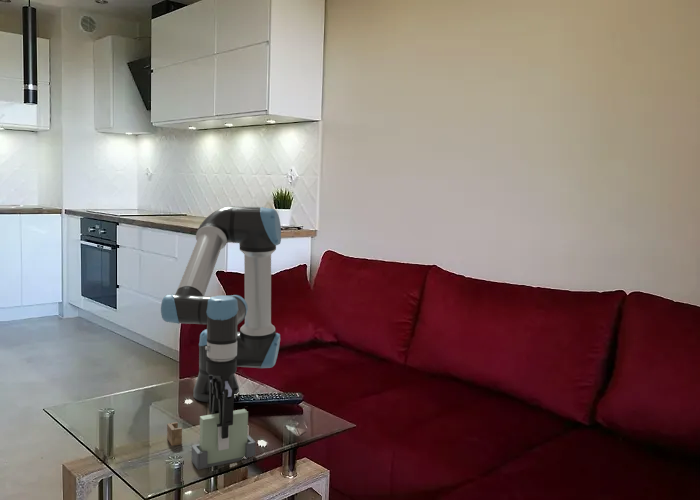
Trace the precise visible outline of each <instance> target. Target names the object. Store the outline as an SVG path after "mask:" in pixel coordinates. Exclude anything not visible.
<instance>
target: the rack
mask: <svg viewBox="0 0 700 500" xmlns="http://www.w3.org/2000/svg"><path fill="white" fill-rule="evenodd" d="M166 426H167V427H166V429H167V431H166V433H167V435H166V439H167V441H168V442H169V444H170V445H171V446H172V447H173V446H179V445H182V444H183V443H182V442H183V428H182V427H179V423H178V421H174V422H169V423H168V422H167V425H166Z"/></svg>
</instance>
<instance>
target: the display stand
mask: <svg viewBox="0 0 700 500" xmlns="http://www.w3.org/2000/svg"><path fill="white" fill-rule="evenodd" d="M199 445H200V443H197V444H193V445H191V462H192V464H193V465H194V467H195V468H196V469H197V470H202V469H206V468H207V469H208V468H212V467H215V466H217V467H218V466H220V465H226V464H231V463H235V462H240V460H241V461H243V460H242V458H243V457H240V458H235V459H231V460H226V461H221V462H216V463H211V464H207V457H208V452H207V451H202V452H201V451H200V450H199ZM254 455H255V456H256V441H255V439H253V437H251V435H249V434H248V439H247V443H246V451H245V457H246V458H248V457H252V456H254Z"/></svg>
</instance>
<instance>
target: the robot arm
mask: <svg viewBox="0 0 700 500" xmlns="http://www.w3.org/2000/svg"><path fill="white" fill-rule="evenodd" d="M195 239H196V242H195V245H194V247H193V249H192V253H191V255H190V256H189V257H190V258H189V260H188V262H187V263H186V264H187V265H186V266H185V269H184V272H183V275H182V277H181V280H180V282H179V285H178V287H177V290H176V292H175V294H174V293H172V294H166V295H165V296H164V297H163V298H162V301H161V305H160V314H161V318H162V320H163V321H164V322H165V323H171V324H185V325H187V324H189V325H191V324H192V325H194V324H195V325H206V329H204V330H202V332H201V333H200V334H199V343H198V349H199V351H198V353H199V354H198V356H199V357H198V359H199V360H198V365H199V366H198V375H197V378H196V381H195V384H194V386H193V398H194V399H195V400H196V401H199V402H202V403H208V404H209V405H208V408H209V409H208V411H209V413H211V414H217V413H219V421H220V424H217V427H218V450H224V449H229V426H230V425H233V411H234V404H235V403H234V401H235V399H234V394H237V393H238V392H239V393H240V387H239V383H238V380H237V377H236V372H237V368H239V367H241V368H256V369H270V368H273V367H274V366H275V365H276V364H277V363H276V362H277V359H278V354H279V350H280V346H281V345H280V342H281V334H280V333H278V332H276V327H275V325H273V324H272V254H273V253H275V251H276V250H277V246H279V245H281V241H282V227H281V220H280V217H279V212H277V210H276V209H274V208H270V207H263V206H235V205H231V206H230V205H229V206H224V207H221V208H219V209H217V210H215V211H213V212H212V213H211V214H209V215H208V216H207V217H206V218H205V219H204V220H203V221H202V222H201V224H200V225H199V226H198V228H197V231H196V232H195ZM230 243H233V244H239V251H240V252H241V253H242V254H243V255H244V257H243V259H244V264H243V266H244V298H243V297H242V296H241V295H239V294H233V295H232V294H231V295H214V296H206V295H205V294H206V292H207V289H208V286H209V283H210V281H211V278H212V275H213V273H214V270H215V266H216V265H217V261H218V258H219V256H220V253H221V250H223V249H224V248H225V247H226V245H227V244H230ZM243 321H244V324H242V326H241V327H239V328H240V329H239V331H238V325H239V324H240V323H242V322H243ZM211 414H210V415H211Z"/></svg>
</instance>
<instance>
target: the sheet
mask: <svg viewBox="0 0 700 500" xmlns="http://www.w3.org/2000/svg"><path fill="white" fill-rule="evenodd" d="M217 424H220V421H219V413H217V414H206V415H201V416H199V444H200V445H199V450H200V451H201V452H202V451H207V452H208V457H207V464H211V463H216V462H221V461H226V460H231V459H235V458H240V457H244V456H245V451H246V443H247V439H248V435H249V433H248V432H249V427H248V425H249V411H247V409H245V408H242V409H237V410H236V409H235V410H233V425H230V426H229V449H224V450H218V427H217Z"/></svg>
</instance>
